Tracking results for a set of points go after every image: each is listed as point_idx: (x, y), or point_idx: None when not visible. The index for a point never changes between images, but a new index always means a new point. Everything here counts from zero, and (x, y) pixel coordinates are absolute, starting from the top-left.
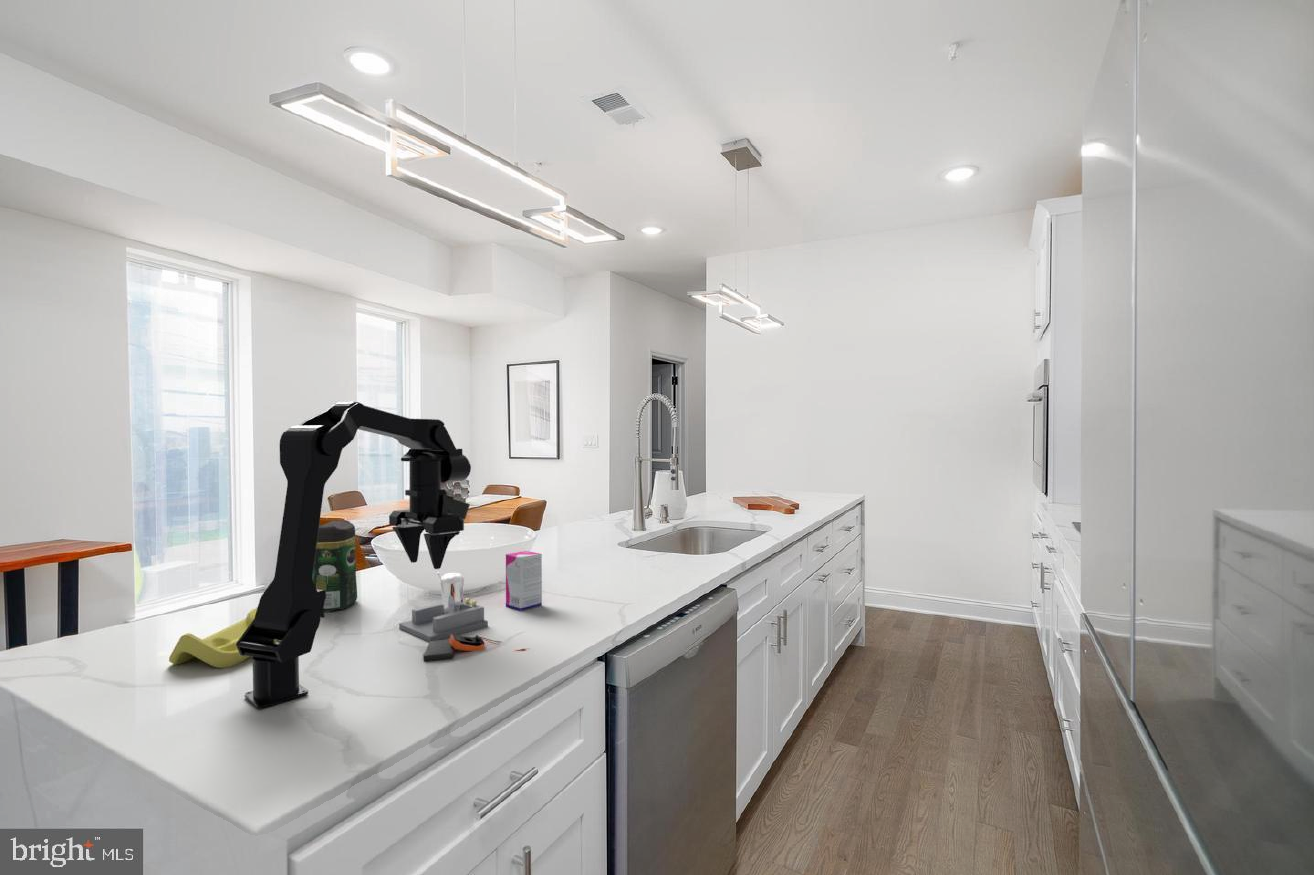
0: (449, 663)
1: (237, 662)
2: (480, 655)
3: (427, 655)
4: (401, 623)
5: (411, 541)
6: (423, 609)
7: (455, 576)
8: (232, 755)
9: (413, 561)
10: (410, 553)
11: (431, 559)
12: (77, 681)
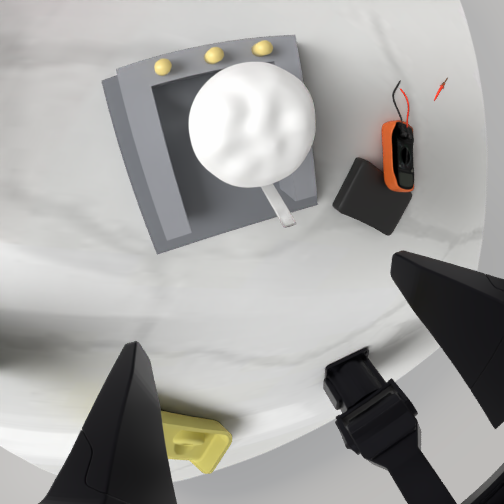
0: (414, 199)
1: (213, 421)
2: (421, 147)
3: (393, 230)
4: (161, 249)
5: (150, 480)
6: (183, 207)
7: (308, 124)
8: (408, 359)
9: (147, 358)
10: (157, 412)
11: (425, 317)
12: (186, 469)
